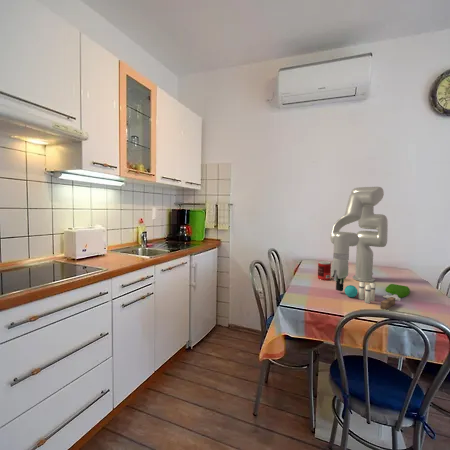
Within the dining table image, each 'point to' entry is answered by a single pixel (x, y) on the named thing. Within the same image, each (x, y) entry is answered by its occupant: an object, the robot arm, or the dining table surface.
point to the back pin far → (372, 291)
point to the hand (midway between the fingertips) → (339, 290)
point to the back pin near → (367, 293)
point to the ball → (351, 291)
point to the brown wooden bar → (387, 303)
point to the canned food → (324, 270)
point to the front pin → (361, 290)
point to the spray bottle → (397, 291)
